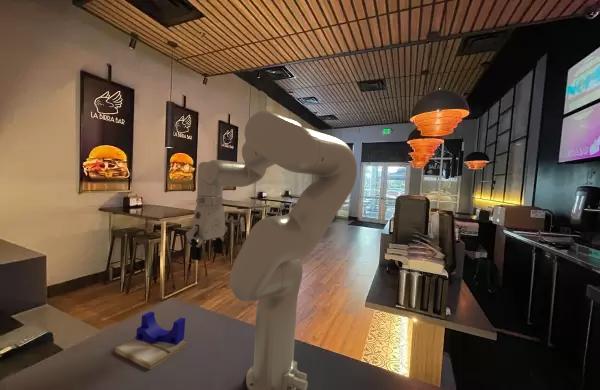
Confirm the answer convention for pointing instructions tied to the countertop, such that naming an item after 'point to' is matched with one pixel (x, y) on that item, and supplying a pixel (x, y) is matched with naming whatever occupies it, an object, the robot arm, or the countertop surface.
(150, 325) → the cable clip
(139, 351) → the board
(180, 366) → the countertop surface
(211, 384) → the countertop surface
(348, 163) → the robot arm
